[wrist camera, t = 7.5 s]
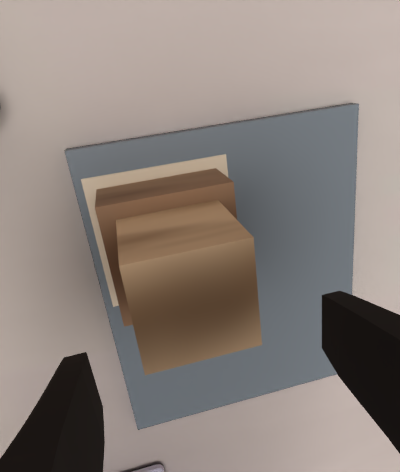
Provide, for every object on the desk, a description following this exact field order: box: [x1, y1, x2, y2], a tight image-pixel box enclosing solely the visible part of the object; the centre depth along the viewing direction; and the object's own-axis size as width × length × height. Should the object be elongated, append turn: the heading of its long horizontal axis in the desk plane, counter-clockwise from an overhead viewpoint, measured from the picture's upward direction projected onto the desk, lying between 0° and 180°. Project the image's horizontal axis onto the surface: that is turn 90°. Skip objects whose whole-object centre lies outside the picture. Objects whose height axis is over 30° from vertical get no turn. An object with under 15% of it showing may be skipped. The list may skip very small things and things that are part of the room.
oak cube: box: [116, 200, 262, 375], centre depth 15 cm, size 4×4×4 cm
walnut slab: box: [95, 168, 237, 327], centre depth 19 cm, size 6×6×3 cm
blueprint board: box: [65, 103, 359, 430], centre depth 23 cm, size 18×15×1 cm
